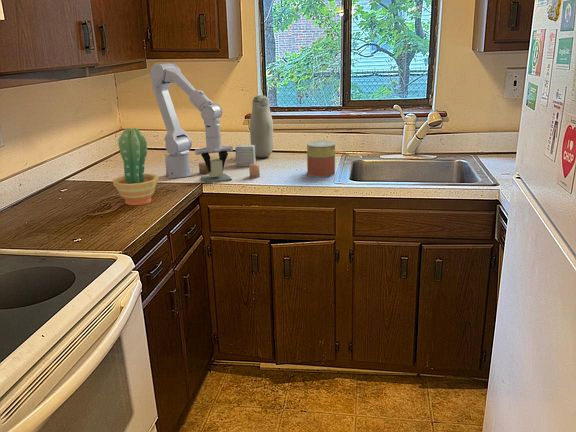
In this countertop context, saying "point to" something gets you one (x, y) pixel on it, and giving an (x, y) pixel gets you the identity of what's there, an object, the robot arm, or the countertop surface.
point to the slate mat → (215, 178)
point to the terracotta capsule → (254, 170)
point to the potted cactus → (134, 169)
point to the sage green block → (216, 167)
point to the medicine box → (245, 155)
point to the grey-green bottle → (261, 127)
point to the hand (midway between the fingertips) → (215, 171)
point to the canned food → (321, 158)
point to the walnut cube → (203, 169)
